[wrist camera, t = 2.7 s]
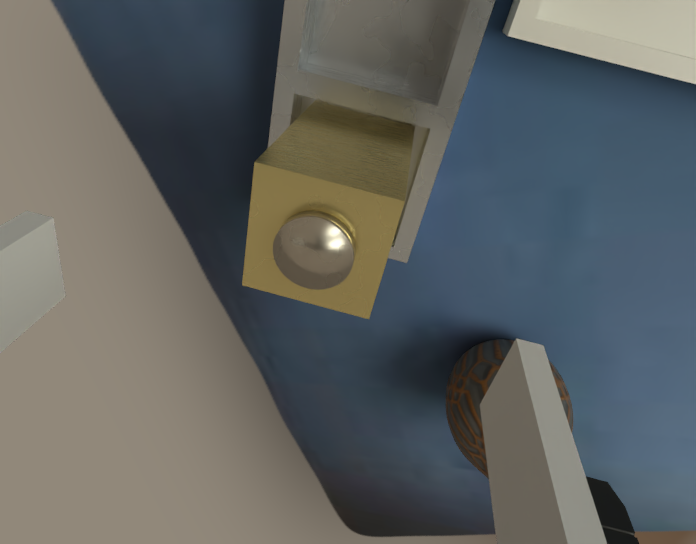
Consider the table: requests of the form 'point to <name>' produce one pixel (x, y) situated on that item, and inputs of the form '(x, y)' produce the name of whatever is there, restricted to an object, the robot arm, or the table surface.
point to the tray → (614, 31)
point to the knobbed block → (328, 208)
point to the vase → (482, 396)
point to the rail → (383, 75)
